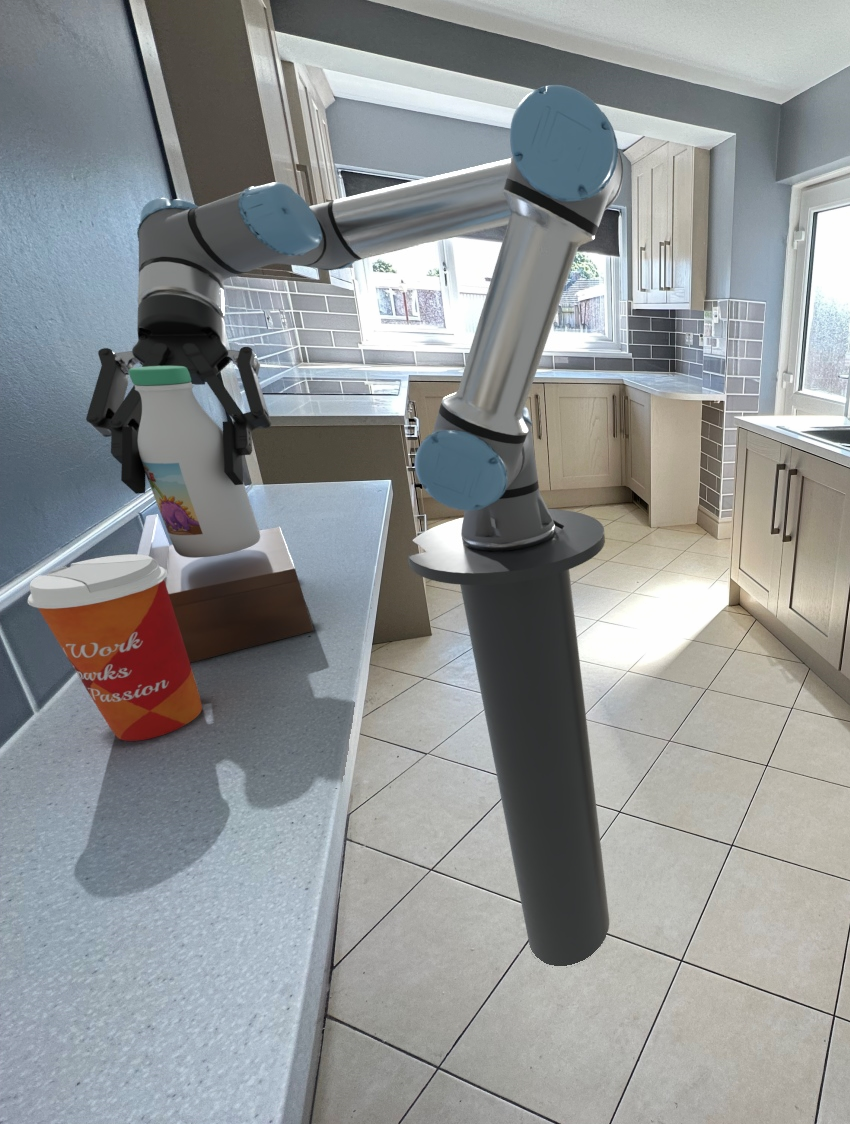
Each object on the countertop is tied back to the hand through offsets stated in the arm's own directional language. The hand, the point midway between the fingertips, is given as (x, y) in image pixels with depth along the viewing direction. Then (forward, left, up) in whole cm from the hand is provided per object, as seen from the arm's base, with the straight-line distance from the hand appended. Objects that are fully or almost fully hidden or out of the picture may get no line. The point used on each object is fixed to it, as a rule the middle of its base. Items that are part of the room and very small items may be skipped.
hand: (185, 482), depth 64 cm
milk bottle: (-1, -3, -9) cm, 9 cm away
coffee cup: (+6, +17, -18) cm, 25 cm away
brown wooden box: (-1, -3, -18) cm, 18 cm away
